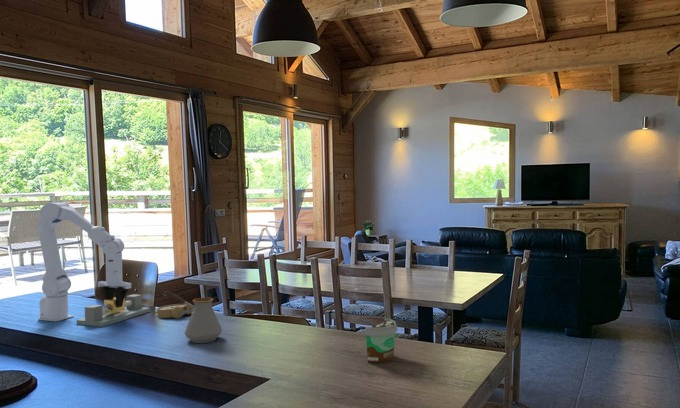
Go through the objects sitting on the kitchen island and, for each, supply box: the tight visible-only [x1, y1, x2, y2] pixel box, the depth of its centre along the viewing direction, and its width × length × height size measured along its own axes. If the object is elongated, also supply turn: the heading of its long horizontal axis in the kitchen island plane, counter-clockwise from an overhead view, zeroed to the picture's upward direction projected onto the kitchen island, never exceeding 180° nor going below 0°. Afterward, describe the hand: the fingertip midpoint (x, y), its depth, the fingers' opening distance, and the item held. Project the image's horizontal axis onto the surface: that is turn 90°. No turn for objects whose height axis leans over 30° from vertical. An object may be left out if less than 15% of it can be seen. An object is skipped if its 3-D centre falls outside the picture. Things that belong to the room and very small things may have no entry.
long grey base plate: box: [76, 294, 151, 328], centre depth 190 cm, size 12×24×6 cm, turn 160°
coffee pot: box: [162, 290, 223, 344], centre depth 161 cm, size 21×12×15 cm, turn 67°
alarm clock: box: [154, 303, 194, 320], centre depth 192 cm, size 11×5×15 cm
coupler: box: [103, 297, 126, 314], centre depth 189 cm, size 4×7×5 cm, turn 160°
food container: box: [364, 317, 398, 364], centre depth 138 cm, size 12×6×10 cm, turn 148°
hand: (114, 306), depth 190 cm, fingers closed on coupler, 4 cm apart
